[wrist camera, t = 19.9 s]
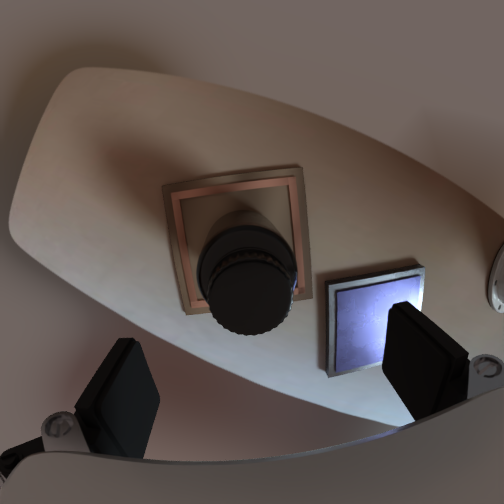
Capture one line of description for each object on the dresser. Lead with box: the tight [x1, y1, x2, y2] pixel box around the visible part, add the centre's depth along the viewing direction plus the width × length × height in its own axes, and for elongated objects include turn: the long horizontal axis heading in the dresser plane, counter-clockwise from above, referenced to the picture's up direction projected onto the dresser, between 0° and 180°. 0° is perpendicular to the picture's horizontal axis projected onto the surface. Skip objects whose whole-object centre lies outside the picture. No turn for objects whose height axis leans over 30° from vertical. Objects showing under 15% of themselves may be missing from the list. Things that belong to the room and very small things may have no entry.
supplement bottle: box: [196, 210, 298, 336], centre depth 21 cm, size 7×7×12 cm
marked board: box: [162, 167, 313, 315], centre depth 27 cm, size 13×13×1 cm
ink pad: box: [325, 264, 425, 378], centre depth 30 cm, size 12×12×2 cm
